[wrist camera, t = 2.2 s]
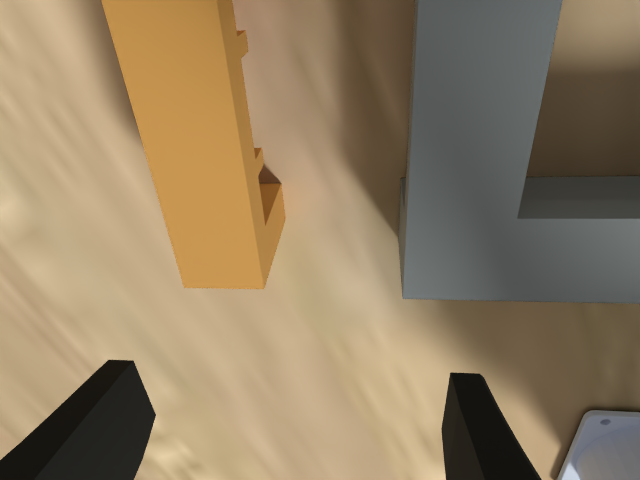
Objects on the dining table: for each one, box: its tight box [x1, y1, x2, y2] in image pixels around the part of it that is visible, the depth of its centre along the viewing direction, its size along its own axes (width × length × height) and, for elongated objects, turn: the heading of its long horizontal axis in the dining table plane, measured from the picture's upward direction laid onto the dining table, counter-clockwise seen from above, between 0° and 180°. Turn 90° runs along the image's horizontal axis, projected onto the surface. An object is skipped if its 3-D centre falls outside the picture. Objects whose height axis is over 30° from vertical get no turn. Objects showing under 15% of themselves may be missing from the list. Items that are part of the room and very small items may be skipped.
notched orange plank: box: [101, 0, 285, 289], centre depth 15 cm, size 12×3×5 cm, turn 3°
